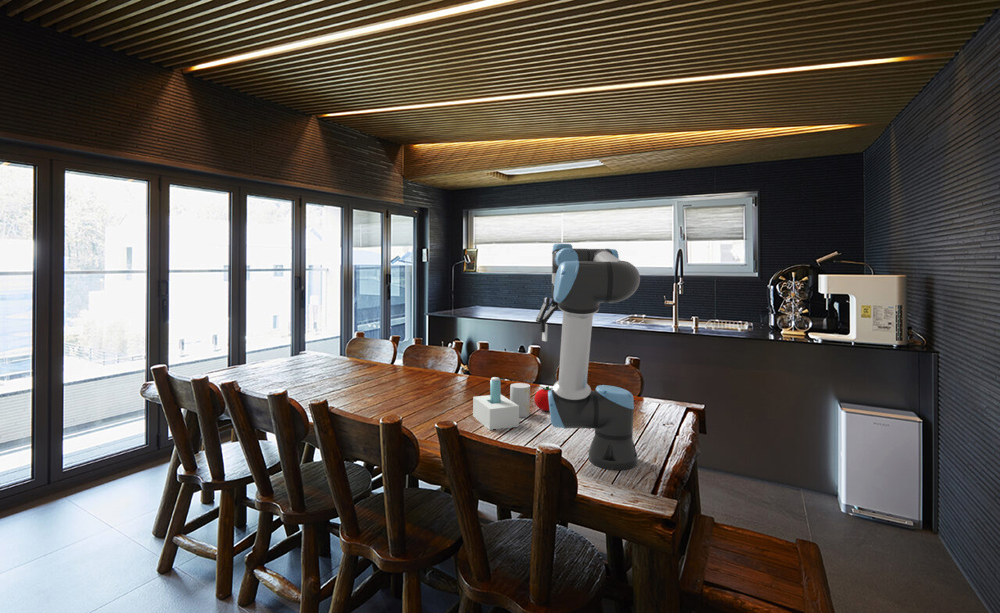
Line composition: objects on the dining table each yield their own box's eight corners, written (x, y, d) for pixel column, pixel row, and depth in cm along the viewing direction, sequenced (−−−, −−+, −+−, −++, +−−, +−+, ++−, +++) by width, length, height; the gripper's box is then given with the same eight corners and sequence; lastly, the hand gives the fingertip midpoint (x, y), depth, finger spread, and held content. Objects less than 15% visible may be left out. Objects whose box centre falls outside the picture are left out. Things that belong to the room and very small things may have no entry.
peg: (502, 416, 191) (502, 378, 190) (492, 417, 190) (492, 379, 188) (498, 413, 195) (498, 376, 194) (488, 414, 193) (488, 377, 192)
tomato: (531, 412, 205) (531, 388, 204) (537, 405, 214) (537, 383, 214) (556, 414, 201) (556, 391, 201) (560, 407, 211) (561, 385, 210)
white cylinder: (528, 417, 197) (528, 388, 196) (508, 416, 199) (508, 387, 198) (530, 411, 205) (531, 383, 204) (511, 410, 207) (512, 382, 206)
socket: (518, 426, 186) (519, 405, 186) (489, 430, 182) (489, 409, 181) (500, 412, 203) (500, 394, 202) (473, 416, 198) (473, 396, 198)
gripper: (584, 284, 194) (582, 337, 196) (527, 284, 185) (526, 340, 187) (594, 285, 188) (593, 339, 189) (536, 285, 178) (535, 343, 180)
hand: (560, 340), depth 188 cm, fingers open, 13 cm apart
